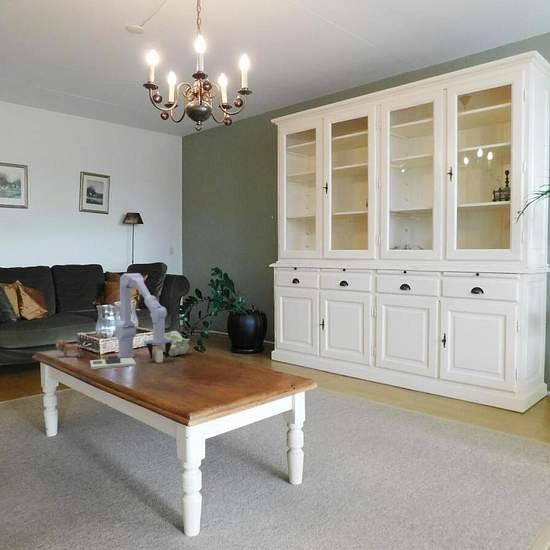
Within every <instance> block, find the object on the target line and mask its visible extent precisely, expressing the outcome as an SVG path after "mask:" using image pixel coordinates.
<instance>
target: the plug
mask: <svg viewBox="0 0 550 550" xmlns="http://www.w3.org/2000/svg"><path fill="white" fill-rule="evenodd" d="M154 361H155V362H156V363H157V362H158V363H163V362H164V353H163V350H162V349H161V348H155V349H154Z"/></svg>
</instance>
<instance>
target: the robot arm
mask: <svg viewBox="0 0 550 550" xmlns="http://www.w3.org/2000/svg"><path fill="white" fill-rule="evenodd" d="M133 289H136V290H137V291H138V292H139V294H141V296H142V297H143V299H144V304H145V306H146V307H147V308H148V310H149V312H150V313H149V315H150V318H151V322H152V339H149V340H143V345H144V346H146V348H147V349H148V352H149V358H150V360H153V348H154V346H153V345H159V344H165V353H164V355H165V356H164V358H165V359H168V355H169V354H168V353H169V350H170V348H171V346H172V344H171V343H174V340H173V339H165V333H166V331H165V330H166V327H165V325H166V323H165V322H166V321H165V320H166V318H167V316H168V310H167V308H166V306H162V305H161V304H160V303H159V301H158V299H157V297H156V296H154V295H151V293H150V292H149V289H148V288H147V285H146V284H145V282H144V277H143V275H142V274H141V273H139V272H138V273H137V272H136V273H127V272H126V273H125V272H124V273H123V274H122V275H121V276H120V277H119V303H120V304H119V306H120V312H119V313H120V321H119V322H118V323H117V324H116V326H115V327H116V328H115V331H114V334H115V338H116V339H117V341H118V353H117V354H116V356H119V357H120V358H131V357H132V358H133V357H135V354H134V339H135V337H136V336H137V329H136V323H135V322H133V320H132V291H133Z"/></svg>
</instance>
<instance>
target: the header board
mask: <svg viewBox="0 0 550 550" xmlns="http://www.w3.org/2000/svg"><path fill="white" fill-rule="evenodd" d="M89 362H90V363H89V364H90V369H91V370H98V369H99V368H102V369H113V368H114V367H115V368H124V367H123V366H128V367H136V366H137V363H136V361H135V359H134V358H133V357H123V358H120V357H119V356H118V355H111V356H109V355H108V356H105V357H104V359H103V358H102V359H93V360H91V359H90V360H89Z"/></svg>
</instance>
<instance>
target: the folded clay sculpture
mask: <svg viewBox="0 0 550 550" xmlns="http://www.w3.org/2000/svg"><path fill="white" fill-rule="evenodd" d="M165 339H173V340H174V343H171V344H172V346H171V348H170V350H169V353H168V355H169V356H171V357H177V356H178V355H182V356H183V354H184V355H186V353H187V351H188V350H189V349H190V345H189V344H188V342H190V340H191V339H190V338H184V337H183V336H182V334H181V333H180V332H178V331H177V330H172V331H170V332H165ZM160 348H161V349H162V350H163V352H165V344H158V349H160ZM176 355H177V356H176Z"/></svg>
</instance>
